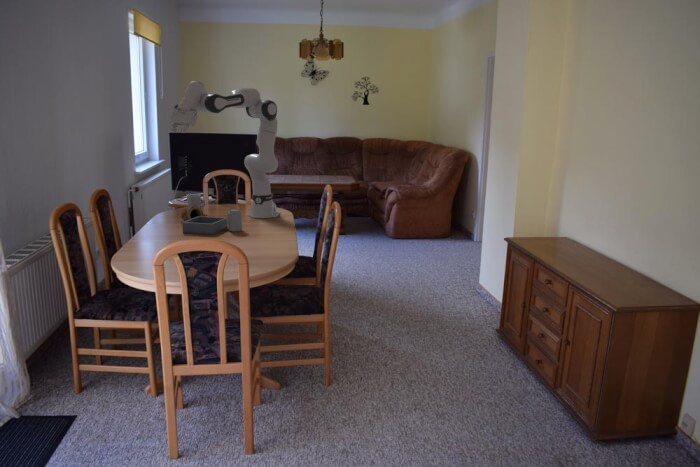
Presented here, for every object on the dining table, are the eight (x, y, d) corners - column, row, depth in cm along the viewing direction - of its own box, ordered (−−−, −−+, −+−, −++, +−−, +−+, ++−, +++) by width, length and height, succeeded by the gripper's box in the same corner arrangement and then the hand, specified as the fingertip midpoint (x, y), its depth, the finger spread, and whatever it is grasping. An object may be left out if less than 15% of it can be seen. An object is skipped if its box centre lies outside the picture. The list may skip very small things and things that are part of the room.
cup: (201, 211, 367) (200, 193, 364) (206, 213, 360) (205, 195, 357) (185, 213, 361) (184, 194, 358) (190, 215, 354) (189, 196, 351)
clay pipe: (176, 230, 329) (197, 224, 324) (170, 213, 327) (191, 206, 322) (193, 223, 346) (213, 217, 341) (188, 207, 345) (208, 200, 340)
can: (229, 232, 307) (228, 211, 305) (228, 229, 314) (227, 208, 312) (242, 231, 309) (242, 210, 307) (241, 229, 316) (240, 208, 314)
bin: (199, 226, 322) (198, 216, 321) (227, 228, 318) (227, 217, 317) (182, 233, 305) (182, 222, 304) (213, 235, 301) (212, 224, 300)
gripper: (202, 111, 297) (193, 135, 295) (182, 111, 310) (172, 134, 308) (193, 106, 292) (183, 129, 290) (172, 105, 306) (163, 128, 304)
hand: (177, 132), depth 299 cm, fingers open, 8 cm apart
